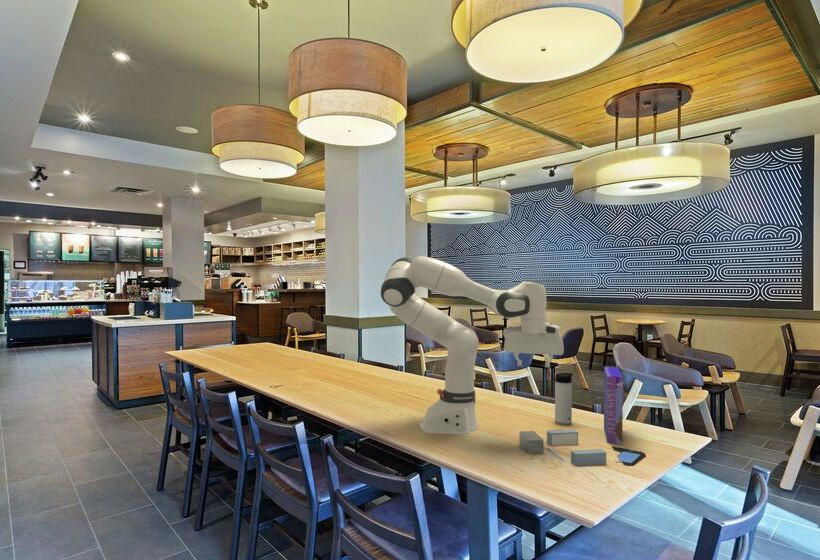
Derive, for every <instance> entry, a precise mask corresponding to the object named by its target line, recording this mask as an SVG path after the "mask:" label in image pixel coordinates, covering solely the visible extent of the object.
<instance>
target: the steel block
mask: <svg viewBox="0 0 820 560" xmlns="http://www.w3.org/2000/svg"><path fill="white" fill-rule="evenodd" d="M518 433H519V435H518V436H519V442H518V443H519V444H518V445H519V446H520V448H521V449H522V450H524V451H525V452H526V453H527V454H528V455H540V454H542V455H543V454H544V439H543V438H542V437H541V436H540V435H539V433H537V432H536V431H534V430H524V431H523V430H522V431H519V432H518Z"/></svg>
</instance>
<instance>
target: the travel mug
mask: <svg viewBox="0 0 820 560" xmlns="http://www.w3.org/2000/svg"><path fill="white" fill-rule="evenodd" d="M573 376H574V374H573V372H559V373H556V374H555V375H554V377H555V378H554V379H555V380H554V424H556V425H560V426H564V425H568V426H571V425H572V423H573V422H572V421H573V418H572V416H573V411H572V409H573V406H572V405H573V402H572V401H573V395H572V394H573V392H572V391H573V389H572V387H573V381H572V380H573V378H572V377H573Z"/></svg>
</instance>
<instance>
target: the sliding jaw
mask: <svg viewBox="0 0 820 560" xmlns="http://www.w3.org/2000/svg"><path fill="white" fill-rule="evenodd" d="M546 444H548V445H549V446H571V445H574V446H575V445H579V431H577V430H576V429H575V428H574V429H547V430H546Z"/></svg>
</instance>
